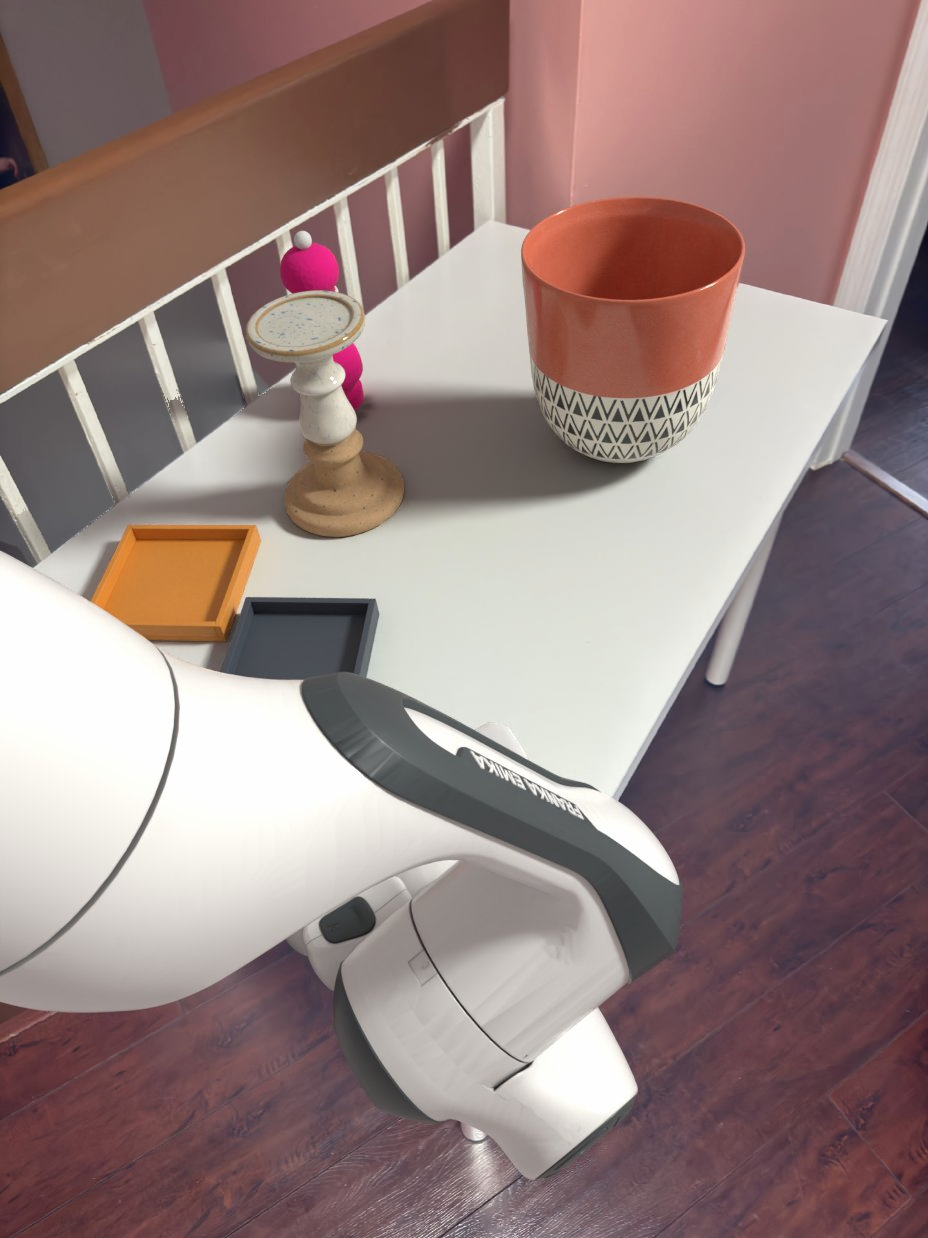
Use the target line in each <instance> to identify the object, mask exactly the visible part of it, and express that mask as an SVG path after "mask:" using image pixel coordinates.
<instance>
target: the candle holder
mask: <svg viewBox="0 0 928 1238" xmlns="http://www.w3.org/2000/svg"><path fill="white" fill-rule="evenodd" d="M365 326H366V315H365V311H364V308H363V306H362V304H361V303H360V302H359V301H358V300H356V299H355V298H354V297H352V296H350V295H348V294H346V293H342V292H339V291H338V292H333V291H323V290H316V291H304V292H298V293H293V294H292V293H290V294H286V295H283V296H281V297H278V298H275V299H273V300H271V301H269V302H268V303H266V304H263V306H260V308H258V309H257V310H256V311H255V312H254V313H253V314H252V315H251V316H250V317H249V319H248V320H247V323H246V326H245V338H246V340H247V343H248V345H249V346H250V348H251V349H252V350H253V351H254V352H255V353H256V354H258V355H259V356H261V357H263V358H265V359H268V360H271V361H274V362H281V363H294V365H295V370H293V372H292V374H291V376H290V386H291V388H292V389H293V390H294V391H295V392H297V393H298V394H299V397H300V399H299V400H300V406H299V407H300V410H299V418H298V426H299V430H300V432H301V434H302V435H303V437H304V438H305V440H304V442H303V446H302V447H303V454H304V455H305V457H306V458H307V460H309V461H310V462H308V463H306V464H305V465H304V466H302V467H301V468H299V470H297V472H295V474H294V475H293V476H292V477H291V478H290V480H289V482H288V483H287V485H286V488H285V491H284V508H285V510H286V512H287V515H288V516H289V518H290V519H291V520H292V523H294V524H295V525H296V526H297V527H299V528H300V529H302V530H304V531H305V532H308V533H310V534H312V535H317V536H322V537H330V538H340V537H342V538H343V537H349V536H354V535H358V534H362V533H366V532H367V531H370V530H372V529H375V528H377V527H379V526H380V525H382V524H383V523H386V521H387V520H389V519H390V518H391V517H392V516H393V515H394V514H395V513H396V512H397V510H398V509H399V508H400V506H401V503H402V501H403V499H404V495H405V481H404V478H403V475H402V473H401V471H400V470H399V468H398V467H397V466H396V465H395V464H394V463H393V462H392V461H390V459H388V458H386V457H384V456H383V455H382V456H381V455H379V454H376V453H373V452H368V451H362V449H363V446H364V438H363V435H362V433H361V432H360V431H359V430H358V428H356V426H357V423H358V418H357V417H358V416H357V414H356V413H357V412H356V410H355V411H354V409H353V407H352V406H351V404H350V403H349V401H348V399H347V398H346V396H345V394H344V391H343V389H342V386H341V385H342V383H343V382H344V379H345V371H344V369H343V367H342V366H341V365H339V364H338V363H336V362H334V360H333V354H335V353H338V352H340V351H342V350H343V349H345V348H347V347H348V346H350V345H351V344H352V343H355V342H356V341H357V340H358V339H359V337H360V336H361V335H362V333H363V331H364V328H365Z"/></svg>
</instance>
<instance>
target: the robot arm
mask: <svg viewBox="0 0 928 1238" xmlns="http://www.w3.org/2000/svg"><path fill="white" fill-rule="evenodd" d="M90 601H91V600H89V599H87V598H86V597H84V596H82V595H80V594H79V593H77V592H75V590H72V589H71V588H69V587H68V586H66V585H64V584H63V583H61V582H59V581H57V580H55V579H54V578H52V577H50V576H49V575H46V574H45V573H43V572H41V571H39V570H37V569H35V568H34V567H32V566H30V565H28V564H26V563H24V562H23V561H21V560H19V559H17V558H16V557H14V556H12V555H10V554H8V553H7V552H4V551H2V550H0V1003H3V1004H7V1005H10V1006H14V1007H15V1006H16V1007H19V1008H25V1009H30V1010H35V1011H42V1012H43V1011H44V1012H53V1013H70V1014H73V1013H75V1014H76V1013H79V1014H85V1013H87V1014H88V1013H89V1014H90V1013H94V1014H96V1013H115V1012H116V1013H117V1012H128V1011H129V1012H130V1011H131V1012H132V1011H139V1010H146V1009H151V1008H155V1007H160V1006H163V1005H168V1004H171V1003H173V1002H177V1001H179V1000H182V999H185V998H188V997H189V996H192V995H194V994H197V993H199V992H201V991H203V990H205V989H207V988H209V987H211V986H213V985H214V984H216V983H218V982H220V981H222V980H223V979H225V978H227V977H228V976H230V975H232V974H234V973H235V972H237V971H238V970H240V969H241V968H244V967H245V966H246V965H248V964H250V963H251V962H252V961H254V960H256V959H257V958H258V957H260V956H262V955H263V954H265V953H267V952H268V951H270V950H272V948H274V947H277V945H279V944H281V943H282V942H283V941H286V942H287V944H288V945H289V946H290V947H291V948H292V949H293V950H294V951H296V952H297V953H299V954H301V955H303V956H305V957H307V958H308V962H309V963H310V966H311V968H312V970H313V971H314V973H315V974H316V976H317V977H318V979H319V980H320V982H322V983H323V984H324V986H325V987H326V988H328V989H329V990H330V991H333V997H332V998H333V1001H332V1002H333V1004H332V1006H333V1007H332V1010H333V1011H332V1012H333V1029H334V1033H335V1036H336V1039H337V1042H338V1044H339V1047H340V1049H341V1051H342V1053H343V1056H344V1058H345V1060H346V1062H347V1064H348V1066H349V1068H350V1070H351V1072H352V1074H353V1076H354V1077H355V1079H356V1080H357V1082H358V1084H359V1086H360V1087H361V1089H362V1090H363V1092H364V1094H365V1095H366V1096H367V1098H368V1099H369V1100H370V1101H371V1103H372V1104H373V1105H374V1106H375V1107H376V1108H377V1109H378V1110H379V1111H380V1112H382V1113H384V1114H387V1115H390V1116H393V1117H397V1118H400V1119H404V1120H407V1121H412V1122H416V1123H423V1124H438V1125H439V1124H445V1123H447V1122H450V1121H452V1120H453V1121H458V1122H460V1123H463V1124H465V1125H467V1126H470V1127H472V1128H474V1129H476V1130H478V1131H480V1132H482V1133H484V1134H485V1135H487V1136H489V1137H490V1138H491V1139H492V1140H493V1141H494V1142H495V1143H496V1144H497V1145H498V1146H499V1148H500V1149H501V1150H502V1151H503V1153H504V1154H505V1156H506V1157H507V1158H508V1160H509V1161H511V1163H512V1165H513V1166H514V1167H515V1168H516V1170H517V1171H518V1172H519V1173H520V1174H521V1175H522V1176H523V1177H525V1178H526V1179H528V1180H532V1181H534V1180H535V1181H537V1180H543V1179H544V1180H546V1179H548V1178H551V1177H554V1176H555V1175H557V1174H559V1173H560V1172H562V1171H563V1170H564V1168H567V1167H568V1166H570V1165H571V1164H572V1163H573V1162H575V1161H576V1160H577V1159H578V1158H580V1157H581V1156H582V1155H584V1153H586V1152H587V1151H588V1150H589V1149H591V1148H592V1147H593V1146H594V1145H595V1144H597V1143H598V1142H599V1141H601V1139H602V1138H603V1137H604V1136H605V1135H606V1134H608V1133H609V1132H610V1131H611V1130H612V1129H613V1128H615V1127H617V1125H619V1124H620V1123H621V1122H623V1120H624V1119H625V1118H626V1117H627V1116H628V1114H629V1113H630V1112H631V1110H632V1108H633V1106H634V1102H635V1101H636V1097H637V1095H638V1091H639V1088H638V1084H637V1081H636V1078H635V1076H634V1074H633V1072H632V1069H631V1067H630V1065H629V1063H628V1061H627V1058H626V1056H625V1054H624V1053H623V1050H622V1048H621V1046H620V1044H619V1043H618V1040H617V1039H616V1036H615V1035H614V1033H613V1031H612V1029H611V1027H610V1026H609V1024H608V1022H607V1020H606V1018H605V1016H604V1015H603V1013H602V1011H601V1009H600V1008H599V1007H600V1006H601V1005H602V1004H604V1002H606V1001H607V1000H608V999H610V997H611V996H613V995H615V994H616V993H617V992H618V991H619V990H620V989H622V988H624V986H625V985H631V984H632V983H634V982H636V981H637V980H638V979H640V978H641V977H642V976H644V975H645V974H647V973H648V972H650V971H651V970H652V969H654V968H655V967H657V966H658V965H660V964H661V963H662V962H664V961H665V960H667V959H668V958H670V957H671V956H672V955H674V954H675V953H676V949H677V944H678V940H679V935H680V929H681V924H682V917H683V906H684V905H683V904H684V885H683V882H682V881H681V879H680V877H679V875H678V873H677V870H676V868H675V865H674V863H673V861H672V859H671V858H670V855H669V854H668V852H667V851H666V849H665V847H664V846H663V844H662V843H661V842H660V841H659V839H658V838H657V836H656V835H655V834H654V833H653V832H652V830H651V829H650V828H649V827H648V826H647V825H646V824H645V822H643V820H642V819H640V818H639V817H638V815H637V814H636V813H634V812H633V811H632V810H631V809H630V808H629V807H627V806H625V805H624V803H621V802H620V801H618V800H617V799H616V798H613V797H612V796H610V795H608V794H606V793H604V792H602V791H600V790H599V789H598V788H596V787H595V786H593V785H591V784H589V783H587V782H583V781H579V780H574V779H570V778H567V777H563V776H561V775H558V774H556V773H554V772H552V771H551V770H548V769H546V768H544V767H543V766H540V765H538V764H537V763H535V762H533V761H531V760H530V759H529V757H528V755H527V753H526V752H525V750H524V748H523V747H522V745H521V744H520V741H519V740H518V739H517V737H516V735H515V734H514V733H513V731H512V730H511V729H510V728H509V727H508V726H507V725H505V724H501V723H499V722H494V721H488V722H486V723H484V724H482V725H479V727H476V728H475V729H474V728H472V727H470V726H468V725H466V724H465V723H462V722H461V721H459V720H457V719H455V718H453V717H452V716H450V715H448V714H445V713H444V712H442V711H440V710H438V709H437V708H434V707H432V706H430V705H429V704H426V703H424V702H422V701H420V700H419V699H417V698H414V697H413V696H410V695H409V694H407V693H404V692H402V691H401V690H398V689H396V688H393V687H392V686H389V685H387V684H384V683H381V682H379V681H376V680H374V679H372V678H369V677H363V676H360V675H357V674H354V673H350V672H338V673H332V674H327V675H321V676H315V677H309V678H306V679H305V680H274V679H261V678H252V677H244V676H238V675H232V674H227V673H222V672H221V671H218V670H215V669H214V670H213V669H210V668H206V667H203V666H199V665H196V664H193V663H191V662H189V661H185V660H183V659H181V658H178V657H176V656H174V655H172V654H170V653H168V652H167V651H165V650H164V649H162V648H161V647H159V646H158V645H156V644H155V643H153V642H152V641H151V640H147V639H146V638H145V637H143V636H142V635H140V634H139V633H137V632H136V631H134V630H133V629H131V628H130V627H128V626H127V625H126V624H124V623H123V622H121V621H120V620H118V619H117V618H115V617H114V616H112V615H111V614H109V613H108V612H106V611H105V610H103V609H102V608H100V607H98V606H97V605H95V604H94V603H92V602H90Z"/></svg>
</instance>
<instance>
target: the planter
mask: <svg viewBox="0 0 928 1238" xmlns="http://www.w3.org/2000/svg"><path fill="white" fill-rule="evenodd" d="M745 254H746V243H745V240H744V237H743V235H742V233H741V231H740V230H739V228H738V227H736V226H735V224H733V223H732V221H731V220H729V219H727V218H726V217H724V215H722V214H719V213H718V212H716V211H713V210H711V209H709V208H706V207H705V206H701V205H699V204H696V203H691V202H688V201H682V200H678V199H673V198H666V197H665V198H664V197H655V196H619V197H618V196H617V197H609V198H602V199H595V200H591V201H586V202H582V203H578V204H575V205H572V206H569V207H566V208H563V209H561V210H559V211H557V212H554V213H552V214H550V215H549V216H548V215H547V217H545V218H543V219H542V220H540V221H539V222H538V223H537V224H535V225H534V226H533V227H532V228H531V229H530V230H529V231H528V233H527V234H526V236H525V237H524V239H523V241H522V244H521V248H520V262H521V264H520V265H521V277H522V278H521V279H522V287H523V298H524V306H525V307H524V308H525V319H526V321H525V322H526V333H527V343H528V344H527V345H528V353H529V362H530V372H531V373H530V374H531V379H532V385H533V390H534V393H535V396H536V400H537V403H538V407H539V408H540V411H541V413H542V416H543V417H544V419H545V421H546V423H547V425H548V426H549V427H550V428H551V430H552V432H553V433H554V434H555V435H556V436H557V437H558V438H559V439H560V440H561V441H562V442H563V443H564V444H565V445H567V446H568V447H570V448H571V449H573V450H574V451H575V452H578V453H580V454H582V455H584V456H586V457H587V458H591V459H594V460H597V461H601V462H604V463H605V462H606V463H612V464H629V463H636V462H641V461H645V460H649V459H652V458H654V457H656V456H659V455H661V454H663V453H665V452H667V451H668V450H670V449H672V448H673V447H675V446H676V445H678V444H679V443H680V442H681V441H683V440H684V439H685V438H687V436H688V435H689V434H691V432H692V431H693V430H694V429H695V428H696V426H697V425H698V423H700V421H701V420H702V418H703V415H704V414H705V412H706V410H707V408H708V406H709V404H710V402H711V399H712V397H713V395H714V392H715V389H716V386H717V382H718V379H719V375H720V371H721V367H722V362H723V357H724V353H725V349H726V344H727V340H728V336H729V330H730V326H731V321H732V317H733V311H734V308H735V307H734V306H735V302H736V299H737V294H738V291H739V290H738V289H739V286H740V285H739V284H740V281H741V280H740V279H741V276H742V270H743V264H744V259H745Z"/></svg>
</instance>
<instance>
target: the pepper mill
mask: <svg viewBox="0 0 928 1238" xmlns="http://www.w3.org/2000/svg"><path fill="white" fill-rule="evenodd" d="M293 243H294V245H293V246H292V247H290V248H289V249H288V250H287V251H286V252H285V253H284V254H283V256H282V258H281V260H280V265H279V274H280V279H281V282H282V284H283V286H284V288H285V290H287V291H288V292H289V293H290V294H293V293H298V292H304V291H316V290H323V291H333V292H338V293H339V288H338V287H337V283H338V281H339V277H340V267H339V264H338V260H337V258H336V256H335V255H334V253H333V252H332V251H331V250H330V249H329V248H328V247H326V246H325V245H323V244H320V243H318V242H313V240H312V236H311V234H310V233H309V232H307V231H305V230H299V231H296V233H295V234H294V237H293ZM333 360H334V362H336V363H338V364H339V365H341V366H342V367H343V369H344V371H345V379H344V382H343V383H342V385H341V386H342V389H343V391H344V394H345V396H346V398H347V399H348V401H349V403H350V404H351V406H352V407H353V409H354V411H355V412H356V410H358V409H359V408H360V407H361V405H362V404H363V402H364V401H365V393H364V389H363V383H362V381H361V380H360V379H361V377H362V375H363V371H364V365H363V364H364V363H363V361H362V357H361V354H360V351H359V350H358V348H357V346H356V345H355V342H353V343H352V344H351V345H350V346H348V347H347V348H345V349H343V350H342V351H340V352H338V353H335V354H333Z"/></svg>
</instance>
